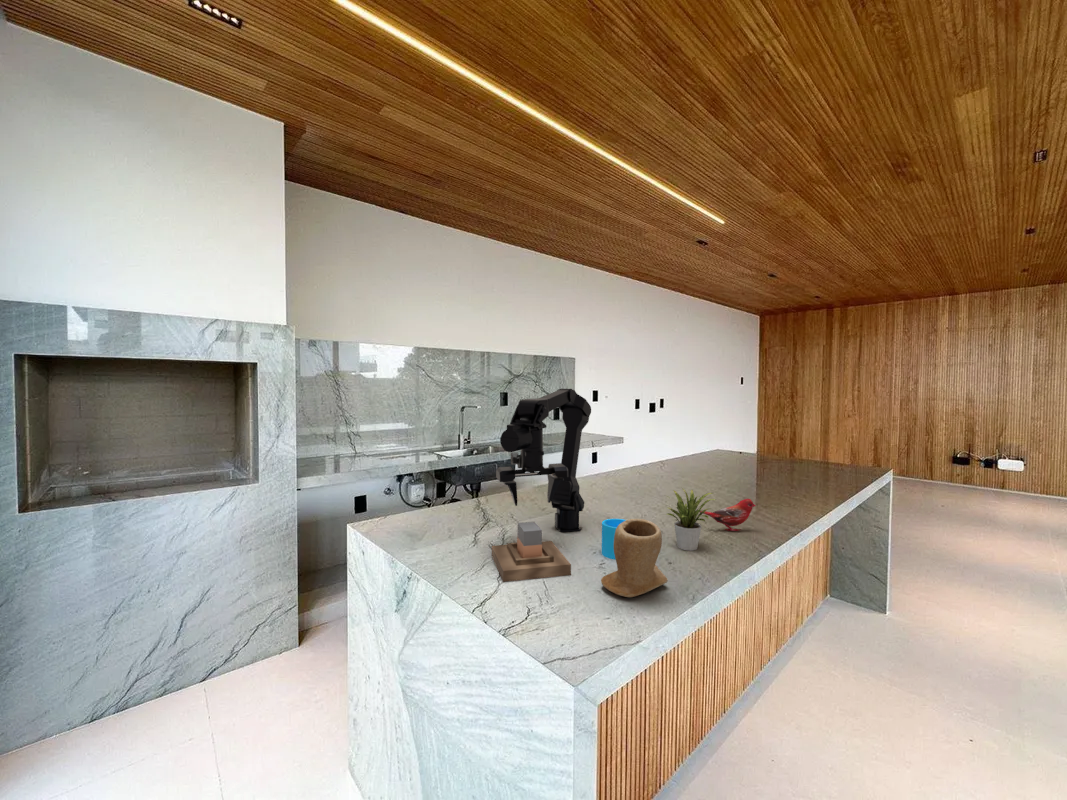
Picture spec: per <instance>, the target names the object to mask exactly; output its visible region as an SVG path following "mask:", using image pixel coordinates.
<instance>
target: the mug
mask: <svg viewBox="0 0 1067 800" xmlns="http://www.w3.org/2000/svg"><path fill="white" fill-rule="evenodd" d="M626 520H627V519H622V518H607V519H604V520H603V521H602V522H601V555H602V556H603V557H604V558H607V559H610V560H615V561H616V559H615V555H614V536H615V531H616V528H617V527H618V525H619V524H621V523H622V522H624V521H626Z"/></svg>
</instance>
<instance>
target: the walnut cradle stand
mask: <svg viewBox="0 0 1067 800" xmlns="http://www.w3.org/2000/svg"><path fill="white" fill-rule="evenodd" d="M491 557H492V560H493V561H494V564H495V566H496V569H497V571H498V573H499V576H500V578H501V580H502V582H503V583H505V582H514V581H515V582H516V581H526V580H534V579H535V580H536V579H546V578H553V577H555V578H556V577H563V576H571V575H572V564H571V563H570V561H569V560H568V559H567V558H566V557H565V556H564V554H563V552H561V550H560V549H559V548H558V547H557V546H556V545H555V544H554V542H553V541H552V540H547V541H546V540H545V541H542V556H541V557H530V558H522V557H521V556H520V554H519V552H518V551H517V541H516V542H507V543H506V544H499V545H491Z"/></svg>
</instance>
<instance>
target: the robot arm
mask: <svg viewBox="0 0 1067 800" xmlns="http://www.w3.org/2000/svg"><path fill="white" fill-rule="evenodd" d="M556 409H559V411H560V412H561V413H562V418H561V419H562V421H563V424H564V426H565V434H564V439H563V440H564V441H563V447H562V448H563V449H562V456H561V462H559V463H549V464H548V465H547V466H548V467H544V455H545V451H544V448H543V447H544V442H543V440H544V437H543V432H544V431H543V429H546V428H547V424H546V423H545V422H543V421H544V420H546V419H547V418H548V417H549V416H550V412H551V411H553V410H556ZM591 413H592V407H591V405H590V403H589V402H588V400H587V399H586V398H584V397H583V396H582V395H580V394H579V393H577V392H576V390H574V389H573V388H558V389H557V390H555V391H552V392H550V393H548V394H545V395H543V396H541V397H538V398H521V400H519V401H518V404H517V405H516V408H515V410H514V412H513V415H512V416H511V417H512V418H511V420H510V423H509V424H507V425H506V429H505V430H504V431H503V432H502V433H501V436H500V438H499V441H500V445H501V448H502V449H503V450H504V451H506V452H508V453H510V464H511V465H516V466H517V468H518V469H514V468H512V466H501V467H500V466H499V467H497V469H496V471H495V475H496V477H495V478H496V479H497V480H498V482H500V483H503V484H504V485H506V486H507V487H508V489H509V491H510V494H511V498H512V501H513V503H514V506H515V507H517V506H518V488H517V482H516V481H515V480H516V478H519V477H520V478H521V477H532V476H535V477H536V476H545V475H546V476H547V481H548V482H547V483H548V484H547V498H546V499H547V503H548V504H549V503H550V504H551V508H553V509H556V512H555V513H554V527H555V528H556V529H557V530H558V531H559V532H560V533H565V532H566V533H567V532H569V533H570V532H581V530H582V528H581V527H580V512H583V510H584V507H585V500H584V499H583V497H582V495H581V494H580V488H581V487H580V484H579V481H578V480H577V476H576V475H577V470H578V469H577V468H578V461H579V453H580V447H581V441H582V432H583V430H584V428H585V427H586V426H587V425H588V423H589V422H590V421H589V420H590V416H591ZM518 451H520V454H519V452H518Z"/></svg>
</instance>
